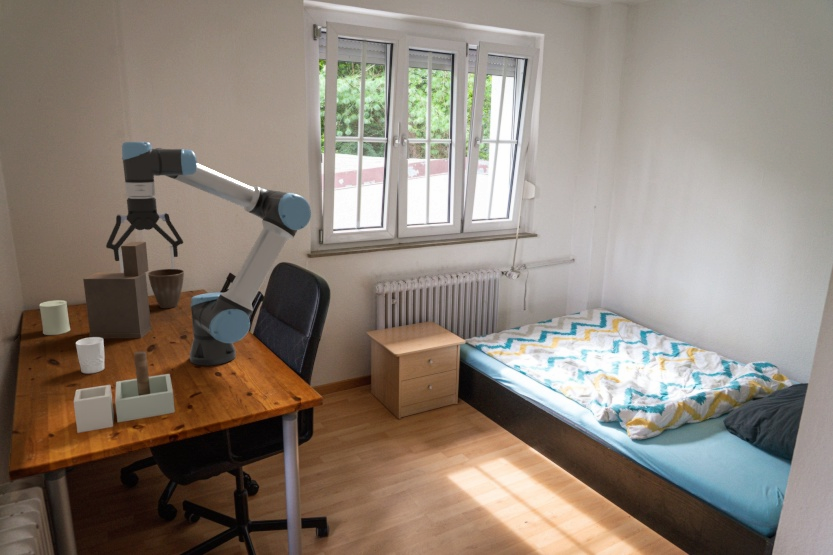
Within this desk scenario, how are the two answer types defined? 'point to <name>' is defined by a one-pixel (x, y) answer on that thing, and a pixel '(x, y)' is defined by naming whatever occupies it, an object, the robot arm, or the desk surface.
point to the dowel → (142, 373)
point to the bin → (144, 399)
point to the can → (54, 317)
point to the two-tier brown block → (120, 297)
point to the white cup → (91, 354)
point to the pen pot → (93, 408)
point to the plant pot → (167, 286)
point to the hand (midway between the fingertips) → (148, 269)
